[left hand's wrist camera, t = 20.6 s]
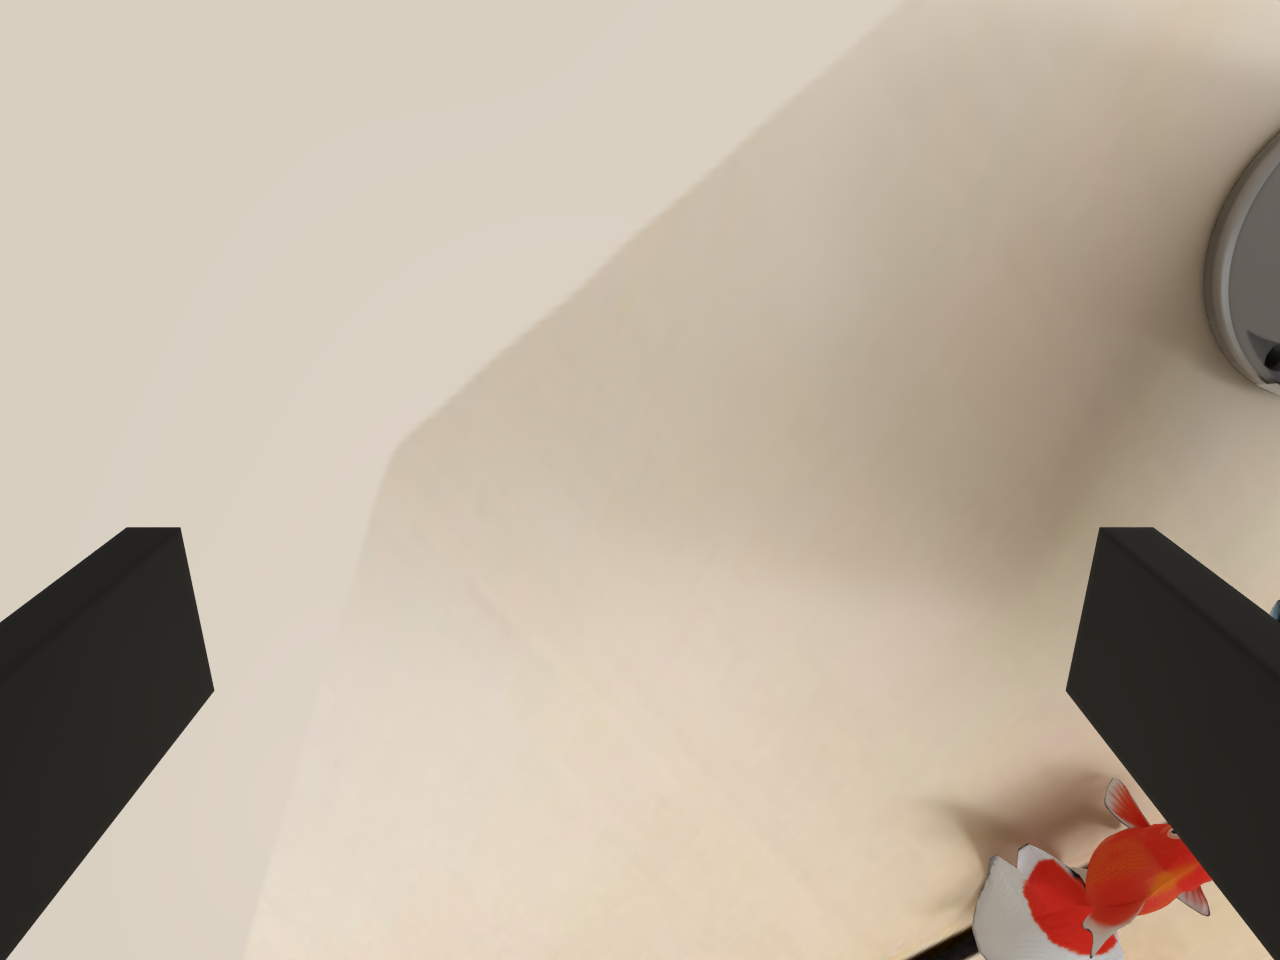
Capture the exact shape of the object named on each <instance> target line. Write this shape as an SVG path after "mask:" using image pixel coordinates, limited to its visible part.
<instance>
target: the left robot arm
mask: <svg viewBox="0 0 1280 960" xmlns="http://www.w3.org/2000/svg"><path fill="white" fill-rule="evenodd" d="M1204 298H1205V305H1206V312H1207V316H1208V320H1209V323H1210V327H1211V329H1212V332H1213V334H1214V337H1215V339H1216V341H1217V343H1218V345H1219V347H1220V348H1221V350H1222V352H1223V353H1224V354H1225V356H1226V357H1227V359H1228V360H1229V361H1230V362H1231V363H1232V365H1233V366H1234V367H1235V368H1236V369H1237V370H1238V371H1239V372H1240V373H1242V374H1243V375H1244V376H1245V377H1246V378H1248V379H1249V380H1251V381H1252V382H1254V383H1255V384H1257V386H1259V387H1261V388H1264V389H1266V390H1268V391H1270V392H1272V393H1274V394H1276V395H1278V396H1280V132H1279V133H1278V134H1277V135H1276V136H1275V137H1274V138H1273V139H1272V140H1271V141H1270V142H1269V143H1268V144H1267V145H1266V146H1265V147H1264V148H1263V149H1262V150H1261V151H1260V152H1259V154H1258V155H1257V156H1256V157H1255V158H1254V159H1253V161H1252V162H1251V163H1250V165H1249V166H1248V167H1247V168H1246V170H1245V171H1244V172H1243V174H1242V175H1241V177H1240V178H1239V180H1238V181H1237V183H1236V184H1235V186H1234V187H1233V189H1232V191H1231V193H1230V195H1229V196H1228V198H1227V200H1226V202H1225V204H1224V206H1223V208H1222V210H1221V212H1220V215H1219V217H1218V219H1217V222H1216V225H1215V227H1214V230H1213V233H1212V236H1211V240H1210V244H1209V248H1208V252H1207V258H1206V264H1205V274H1204ZM213 692H214V687H213V682H212V677H211V672H210V668H209V663H208V658H207V653H206V648H205V644H204V639H203V634H202V629H201V624H200V620H199V615H198V610H197V605H196V600H195V595H194V591H193V586H192V581H191V576H190V571H189V567H188V562H187V557H186V552H185V547H184V543H183V538H182V533H181V528H180V527H127V528H125V529H124V530H123V531H121V532H120V533H119V534H117V535H116V536H115V537H113V538H112V539H111V540H109V541H108V542H107V543H105V544H104V545H103V546H101V547H100V548H99V549H97V550H96V551H95V552H93V553H92V554H91V555H89V556H88V557H87V558H85V559H84V560H83V561H81V562H80V563H79V564H77V565H76V566H75V567H73V568H72V569H71V570H69V571H68V572H67V573H65V574H64V575H63V576H61V577H60V578H59V579H57V580H56V581H55V582H53V583H52V584H51V585H49V586H48V587H47V588H45V589H44V590H43V591H41V592H40V593H39V594H37V595H36V596H35V597H34V598H32V599H31V600H30V601H28V602H27V603H25V604H24V605H23V606H22V607H20V608H19V609H18V610H16V611H15V612H14V613H12V614H11V615H10V616H8V617H7V618H6V619H4V620H3V621H2V622H0V960H6V959H7V957H8V956H9V955H10V954H11V952H12V951H13V950H14V948H15V947H16V946H17V944H18V943H19V942H20V941H21V939H22V938H23V937H24V936H25V934H26V933H27V932H28V930H29V929H30V928H31V926H32V925H33V924H34V923H35V921H36V920H37V919H38V917H39V916H40V915H41V914H42V912H43V911H44V910H45V908H46V907H47V906H48V905H49V903H50V902H51V901H52V899H53V898H54V897H55V896H56V894H57V893H58V892H59V890H60V889H61V888H62V886H63V885H64V884H65V883H66V881H67V880H68V879H69V877H70V876H71V875H72V874H73V872H74V871H75V870H76V868H77V867H78V866H79V865H80V863H81V862H82V861H83V859H84V858H85V857H86V856H87V854H88V853H89V852H90V850H91V849H92V848H93V847H94V845H95V844H96V843H97V841H98V840H99V839H100V837H101V836H102V835H103V834H104V832H105V831H106V830H107V828H108V827H109V826H110V825H111V823H112V822H113V821H114V819H115V818H116V817H117V816H118V814H119V813H120V812H121V810H122V809H123V808H124V807H125V805H126V804H127V803H128V801H129V800H130V799H131V798H132V796H133V795H134V794H135V792H136V791H137V790H138V788H139V787H140V786H141V785H142V783H143V782H144V781H145V779H146V778H147V777H148V776H149V774H150V773H151V772H152V770H153V769H154V768H155V767H156V765H157V764H158V763H159V761H160V760H161V759H162V757H163V756H164V755H165V754H166V752H167V751H168V750H169V748H170V747H171V746H172V745H173V743H174V742H175V741H176V739H177V738H178V737H179V735H180V734H181V733H182V732H183V730H184V729H185V728H186V727H187V725H188V724H189V723H190V721H191V720H192V719H193V717H194V716H195V715H196V714H197V712H198V711H199V710H200V708H201V707H202V706H203V705H204V703H205V702H206V701H207V699H208V698H209V697H210V696H211V694H212V693H213ZM1066 692H1067V693H1068V694H1069V696H1070V697H1071V698H1072V699H1073V701H1074V702H1075V703H1076V705H1077V706H1078V707H1079V709H1080V710H1081V711H1082V712H1083V714H1084V715H1085V716H1086V718H1087V719H1088V720H1089V721H1090V723H1091V724H1092V725H1093V727H1094V728H1095V729H1096V730H1097V732H1098V733H1099V734H1100V736H1101V737H1102V738H1103V739H1104V741H1105V742H1106V743H1107V745H1108V746H1109V747H1110V748H1111V750H1112V751H1113V752H1114V754H1115V755H1116V756H1117V758H1118V759H1119V760H1120V761H1121V763H1122V764H1123V765H1124V767H1125V768H1126V769H1127V770H1128V772H1129V773H1130V774H1131V776H1132V777H1133V778H1134V779H1135V781H1136V782H1137V783H1138V785H1139V786H1140V787H1141V788H1142V790H1143V791H1144V792H1145V794H1146V795H1147V796H1148V798H1149V799H1150V800H1151V801H1152V803H1153V804H1154V805H1155V807H1156V808H1157V809H1158V810H1159V812H1160V813H1161V814H1162V816H1163V817H1164V818H1165V819H1166V821H1167V822H1168V823H1169V825H1170V826H1171V827H1172V828H1173V830H1174V831H1175V832H1176V834H1177V835H1178V836H1179V837H1180V839H1181V840H1182V841H1183V843H1184V844H1185V845H1186V847H1187V848H1188V849H1189V850H1190V852H1191V853H1192V854H1193V856H1194V857H1195V858H1196V859H1197V861H1198V862H1199V863H1200V865H1201V866H1202V867H1203V868H1204V870H1205V871H1206V872H1207V874H1208V875H1209V876H1210V877H1211V879H1212V880H1213V881H1214V883H1215V884H1216V885H1217V887H1218V888H1219V889H1220V890H1221V892H1222V893H1223V894H1224V896H1225V897H1226V898H1227V899H1228V901H1229V902H1230V903H1231V905H1232V906H1233V907H1234V908H1235V910H1236V911H1237V912H1238V914H1239V915H1240V916H1241V917H1242V919H1243V920H1244V921H1245V923H1246V924H1247V925H1248V926H1249V928H1250V929H1251V930H1252V932H1253V933H1254V934H1255V936H1256V937H1257V938H1258V939H1259V941H1260V942H1261V943H1262V945H1263V946H1264V947H1265V948H1266V950H1267V951H1268V952H1269V954H1270V955H1271V956H1272V957H1273V959H1274V960H1280V600H1278V601H1277V602H1276V604H1275V605H1274V606H1273V608H1272V610H1271V612H1270V615H1269V614H1268V613H1266V612H1265V611H1264V610H1262V609H1261V608H1260V607H1259V606H1257V605H1256V604H1255V603H1253V602H1252V601H1251V600H1249V599H1248V598H1247V597H1245V596H1244V595H1243V594H1241V593H1240V592H1239V591H1237V590H1236V589H1235V588H1233V587H1232V586H1231V585H1229V584H1228V583H1227V582H1225V581H1224V580H1223V579H1221V578H1220V577H1219V576H1217V575H1216V574H1215V573H1213V572H1212V571H1211V570H1209V569H1208V568H1207V567H1205V566H1204V565H1203V564H1201V563H1200V562H1199V561H1197V560H1196V559H1195V558H1193V557H1192V556H1191V555H1189V554H1188V553H1187V552H1185V551H1184V550H1183V549H1181V548H1180V547H1179V546H1177V545H1176V544H1175V543H1173V542H1172V541H1171V540H1169V539H1168V538H1167V537H1165V536H1164V535H1163V534H1161V533H1160V532H1159V531H1157V530H1156V529H1155V528H1153V527H1100V528H1099V533H1098V538H1097V543H1096V547H1095V552H1094V557H1093V562H1092V567H1091V571H1090V576H1089V581H1088V586H1087V591H1086V595H1085V600H1084V605H1083V610H1082V615H1081V619H1080V624H1079V629H1078V634H1077V639H1076V644H1075V648H1074V653H1073V658H1072V663H1071V668H1070V672H1069V677H1068V682H1067V687H1066Z"/></svg>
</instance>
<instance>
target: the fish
mask: <svg viewBox="0 0 1280 960" xmlns="http://www.w3.org/2000/svg"><path fill="white" fill-rule="evenodd" d="M1105 806H1106V808H1107V809H1108V810H1109V811H1110V812H1111V813H1112V814H1113V815H1114V816H1115V817H1116V818H1117V819H1118V820H1119V821H1120V822H1122V823H1123V824H1124V825H1126V826H1127V827H1128V829H1125V830H1122V831H1120V832H1118V833H1116V834H1113V835H1111V836H1109V837H1108V838H1106V839H1105V840H1104V841H1102V842H1101V843H1100V845H1099V846H1098V847H1097V848H1096V850H1095V851H1094V853H1093V855H1092V857H1091V859H1090V862H1089V865H1088V869H1083V868H1074V867H1068V866H1066V865H1065V864H1063V863H1062V862H1060V861H1059V860H1058V859H1056V858H1055V857H1053V856H1052V855H1050V854H1048V853H1046V852H1045V851H1043V850H1041V849H1039V848H1037V847H1035V846H1033V845H1030V844H1026V845H1024V846H1023V847H1021V848H1019V849H1018V861H1017V868H1016V867H1015V866H1013V865H1012V864H1010V863H1008V862H1007V861H1005V860H1004V859H1002V858H1001V857H999V856H997V855H996V856H994V857H992V858H990V863H989V870H988V875H987V879H986V881H985V883H984V885H983V887H982V889H981V891H980V894H979V897H978V900H977V903H976V908H975V912H974V916H973V925H972V930H973V933H974V937H975V940H976V943H977V947H978V950H979V952H980V953H981V954H982V956H983V957H984V958H985V959H986V960H1124V956H1123V951H1122V948H1121V944H1120V941H1119V937H1118V934H1117V931H1116V930H1118V929H1120V928H1122V927H1123V926H1125V925H1127V924H1129V923H1131V922H1132V921H1133V919H1134V918H1135V917H1136V916H1138V915H1144V914H1148V913H1151V912H1154V911H1157V910H1159V909H1161V908H1163V907H1165V906H1167V905H1168V904H1169V903H1171V902H1172V901H1173V900H1174V899H1175V898H1178V899H1179V900H1180V901H1182V902H1183V903H1185V904H1186V905H1187V906H1189V907H1190V908H1192V909H1194V910H1195V911H1197V912H1198V913H1200V914H1202V915H1205V916H1210V911H1209V906H1208V903H1207V900H1206V898H1205V896H1204V894H1203V891H1202V889H1201V886H1200V885H1202V884H1203V883H1205V882H1210V881H1212V879H1211V877H1210V876H1209V875H1208V874H1207V872H1206V871H1205V870H1204V868H1203V867H1202V866H1201V865H1200V863H1199V862H1198V861H1197V859H1196V858H1195V857H1194V856H1193V854H1192V853H1191V852H1190V850H1189V849H1188V848H1187V847H1186V845H1185V844H1184V843H1183V841H1182V840H1181V839H1180V837H1179V836H1178V835H1177V834H1176V832H1175V831H1174V830H1173V828H1172V827H1171V826H1170V825H1169V824H1153V825H1150V824H1149V823H1148V821H1147V820H1146V818H1145V817H1144V815H1143V814H1142V812H1141V811H1140V809H1139V808H1138V806H1137V804H1136V803H1135V801H1134V800H1133V798H1132V796H1131V795H1130V793H1129V791H1128V790H1127V788H1126V787H1125V786H1124V785H1123V784H1122V783H1121V781H1119V780H1116V779H1112V780H1111V782H1110V784H1109V786H1108V787H1107V791H1106V795H1105Z"/></svg>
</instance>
